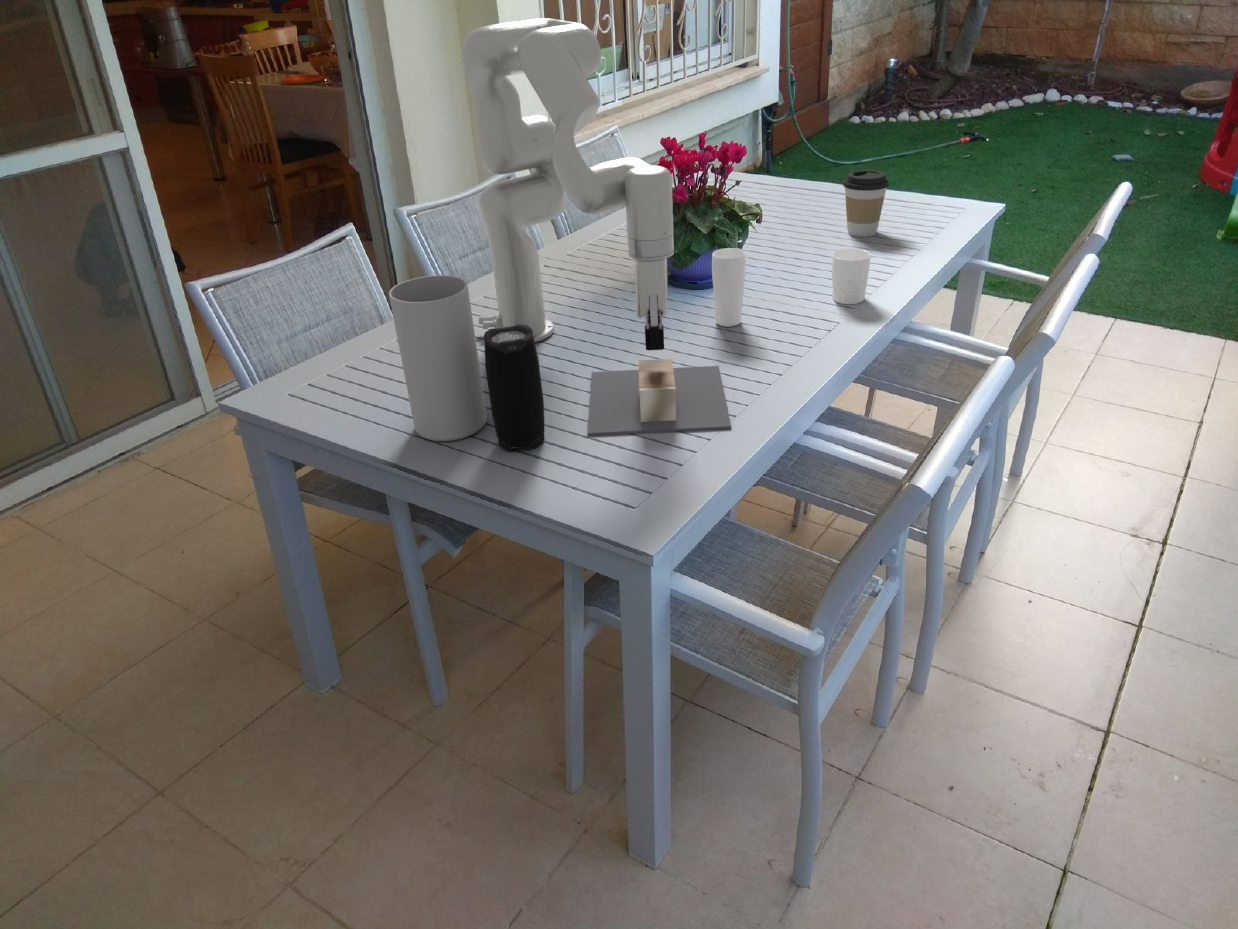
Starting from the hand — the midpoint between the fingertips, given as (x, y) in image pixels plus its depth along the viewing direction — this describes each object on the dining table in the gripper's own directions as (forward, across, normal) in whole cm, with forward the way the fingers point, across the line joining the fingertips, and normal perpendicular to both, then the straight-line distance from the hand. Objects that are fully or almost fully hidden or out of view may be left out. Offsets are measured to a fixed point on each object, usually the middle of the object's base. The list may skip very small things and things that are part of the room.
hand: (654, 347), depth 162 cm
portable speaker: (+10, +14, -23) cm, 29 cm away
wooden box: (+6, -2, 0) cm, 6 cm away
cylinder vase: (+10, +7, -36) cm, 38 cm away
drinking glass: (+10, -33, +16) cm, 38 cm away
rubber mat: (+10, +1, 0) cm, 10 cm away
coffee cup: (+10, -89, +56) cm, 106 cm away
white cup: (+10, -43, +43) cm, 62 cm away
